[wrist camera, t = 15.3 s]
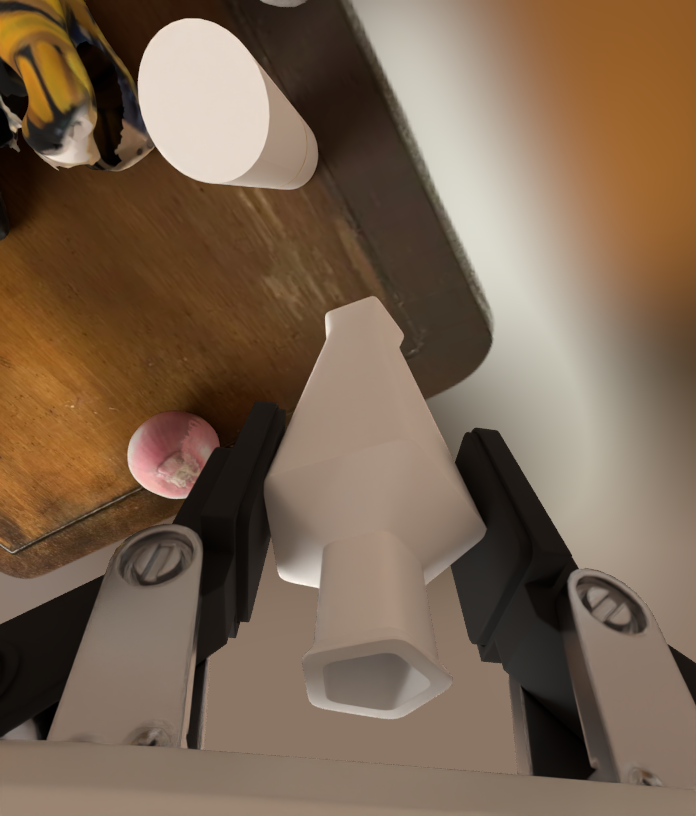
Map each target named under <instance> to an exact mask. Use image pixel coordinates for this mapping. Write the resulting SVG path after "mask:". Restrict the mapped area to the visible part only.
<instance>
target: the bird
mask: <svg viewBox="0 0 696 816" xmlns="http://www.w3.org/2000/svg"><path fill="white" fill-rule="evenodd" d="M260 1H262V2H264V3H266V4H270V5H274V6H279V7H296V6H298V5H300V4H302V3H304V2H305V1H307V0H260Z"/></svg>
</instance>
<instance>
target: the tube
mask: <svg viewBox="0 0 696 816" xmlns="http://www.w3.org/2000/svg"><path fill="white" fill-rule="evenodd" d="M138 99H139V104H140V109H141V114H142V117H143V120H144V123H145V126H146V129H147V131H148V133H149V135H150V137H151V139H152V140H153V142H154V144H155V146H156V147H157V148H158V150H159V151H160V153H161V154H162V155H163V157H164V158H165V159H166V160H167V161H168V162H169V163H170V164H171V165H172V166H173V167H175V168H176V169H177V170H179V171H180V172H182V173H183V174H185V175H187V176H189V177H191V178H193V179H195V180H198V181H202V182H206V183H215V184H226V185H238V186H250V187H261V188H273V189H285V190H292V189H296V188H299V187H301V186H303V185H304V184H306V183H307V182H308V181H309V180H310V178H311V177H312V175H313V174H314V172H315V169H316V166H317V162H318V147H317V142H316V139H315V136H314V134H313V132H312V130H311V129H310V127H309V126H308V125H307V123H306V122H305V121H304V120H303V118H302V117H301V116H300V115H299V113H298V112H297V111H296V110H295V108H294V107H293V106H292V105H291V103H290V102H289V101H288V100H287V98H286V97H285V96H284V95H283V93H282V92H281V91H280V90H279V88H278V87H277V86H276V85H275V83H274V82H273V81H272V80H271V78H270V77H269V76H268V75H267V73H266V72H265V71H264V70H263V68H262V67H261V66H260V65H259V63H258V62H257V61H256V60H255V58H254V57H253V56H252V55H251V53H250V52H249V51H248V50H247V49H246V47H245V46H244V45H243V44H242V43H241V42H240V40H239V39H237V38H236V37H235V36H234V35H233V34H232V33H230V32H229V31H228V30H226V29H225V28H223V27H221V26H219V25H218V24H216V23H214V22H210V21H207V20H203V19H189V18H185V19H182V20H178V21H175V22H172V23H170V24H169V25H167V26H165V27H164V28H162V29H161V30H160V31H159V32H158V33H157V34H156V35H155V36H154V37H153V38H152V40H151V41H150V43H149V45H148V46H147V48H146V50H145V52H144V55H143V58H142V61H141V64H140V69H139V76H138Z"/></svg>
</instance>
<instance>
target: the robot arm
mask: <svg viewBox="0 0 696 816" xmlns="http://www.w3.org/2000/svg"><path fill="white" fill-rule="evenodd" d="M285 418H286V410H283V409H279V407H278V403H272V402H263V401H256V402H255V403H254V405H253V407H252V409H251V412H250V414H249V416H248V418H247V420H246V422H245V424H244V426H243V428H242V430H241V432H240V434H239V436H238V438H237V440H236V442H235V445H234V447H233V449H232V448H223V447H216V448H215V449H214V450H213V451H212V453H211V455H210V457H209V458H208V460H207V462H206V464H205V466H204V467H203V469H202V471H201V473H200V474H199V476H198V478H197V480H196V482H195V483H194V485H193V487H192V489H191V491H190V492H189V494H188V496H187V498H186V500H185V501H184V503H183V505H182V507H181V509H180V510H179V512H178V514H177V516H176V518H175V520H174V521H173V523H172V524H162V525H155V526H151V527H148V528H146V529H143V530H140V531H138V532H136V533H135V534H133V535H132V536H130V537H129V538H127V539H126V540H125V541H124V542H123V543H122V544H121V545H120V546H119V547H118V548H117V549H116V550H115V552H114V554H113V556H112V557H111V559H110V562H109V565H108V567H107V570H106V573H105V574H104V575H102V576H100V577H98V578H96V579H94V580H92V581H90V582H88V583H86V584H84V585H82V586H79V587H78V588H75V589H73V590H71V591H69V592H67V593H65V594H63V595H61V596H59V597H57V598H54V599H53V600H51V601H48V602H46V603H44V604H42V605H40V606H38V607H36V608H34V609H32V610H29V611H27V612H25V613H23V614H21V615H19V616H17V617H15V618H13V619H11V620H9V621H6V622H4V623H2V624H0V816H696V663H695V662H693V661H692V660H690V659H689V658H687V657H686V656H684V655H683V654H681V653H680V652H678V651H677V650H676V649H674V648H673V647H671V646H670V645H668V644H667V643H666V641H665V638H664V636H663V634H662V632H661V630H660V628H659V626H658V623H657V621H656V619H655V617H654V615H653V613H652V612H651V610H650V609H649V607H648V605H647V604H646V603H645V602H644V601H643V600H642V599H641V597H639V595H638V594H637V593H636V592H635V591H633V590H632V589H631V588H630V587H628V586H627V585H626V584H625V583H623V582H621V581H620V580H618V579H616V578H615V577H613V576H611V575H609V574H606V573H604V572H601V571H598V570H593V569H588V568H585V569H579V568H578V567H577V565H576V563H575V562H574V560H573V558H572V555H571V553H570V551H569V549H568V548H567V546H566V545H565V543H564V541H563V539H562V538H561V536H560V534H559V533H558V531H557V529H556V528H555V526H554V524H553V523H552V521H551V519H550V517H549V516H548V514H547V513H546V511H545V509H544V507H543V506H542V504H541V502H540V501H539V499H538V497H537V496H536V494H535V492H534V491H533V489H532V487H531V485H530V484H529V482H528V480H527V479H526V477H525V475H524V474H523V472H522V470H521V469H520V467H519V465H518V463H517V462H516V460H515V459H514V457H513V455H512V453H511V452H510V450H509V448H508V447H507V445H506V443H505V442H504V440H503V438H502V437H501V435H500V433H499V432H498V431H496V430H489V429H482V428H474V429H473V430H472V432H471V433H469V432H467V433H465V435H464V437H463V440H462V443H461V446H460V449H459V452H458V455H457V458H456V461H455V464H456V466H457V468H458V470H459V473H460V475H461V477H462V479H463V481H464V483H465V485H466V487H467V489H468V491H469V493H470V495H471V497H472V499H473V501H474V503H475V506H476V508H477V510H478V512H479V514H480V516H481V518H482V520H483V522H484V524H485V526H486V528H487V530H486V533H485V536H484V537H483V538H482V540H480V541H479V542H478V543H477V544H475V545H474V546H473V547H472V548H471V549H469V550H468V551H467V552H466V553H464V554H463V555H462V556H461V557H460V558H458V559H457V560H456V561H455V562H453V563H452V564H451V569H452V573H453V577H454V580H455V585H456V589H457V593H458V597H459V601H460V605H461V609H462V613H463V617H464V621H465V625H466V629H467V633H468V636H469V639H470V641H471V643H472V644H477V646H478V650H479V654H480V657H481V661H483V662H493V663H502V665H503V669H504V670H505V671H506V672H507V673H508V674H509V688H510V699H511V709H512V720H513V730H514V742H515V752H516V763H517V773H518V775H515V774H502V773H491V772H479V771H466V770H453V769H442V768H430V767H417V766H404V765H392V764H380V763H379V764H378V763H367V762H354V761H342V760H328V759H315V758H302V757H289V756H276V755H263V754H250V753H236V752H223V751H210V750H204V742H205V728H206V727H205V726H206V713H207V700H208V687H209V673H210V660H211V654H213V653H214V652H216V651H217V650H218V649H220V648H221V647H223V646H224V645H225V644H227V640H228V637H229V638H236V635H237V632H238V628H239V625H240V622H249V621H250V618H251V614H252V610H253V606H254V602H255V598H256V594H257V590H258V586H259V582H260V578H261V574H262V570H263V566H264V562H265V558H266V554H267V550H268V545H269V542H270V538H271V532H270V527H269V521H268V516H267V510H266V505H265V499H264V480H265V477H266V475H267V472H268V470H269V468H270V466H271V463H272V461H273V459H274V457H275V454H276V452H277V450H278V448H279V445H280V443H281V441H282V439H283V436H284V434H285Z"/></svg>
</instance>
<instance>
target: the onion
mask: <svg viewBox="0 0 696 816" xmlns="http://www.w3.org/2000/svg"><path fill="white" fill-rule="evenodd" d="M217 436H218V434H216V432H215V431H214V429H213V428H212V427H211V425H210V424H209V423H207V422H206V421H205V420H204V419H202V418H201V417H199V416H197V415H195V414H192V413H189V412H184V411H165V412H162V413H159V414H156V415H154V416H153V417H151V418H150V419H148V420H147V421H146V422H144V423H143V424H142V425H141V426H140V427H139V428H138V429H137V430H136V432H135V433H134V434H133V436H132V438H131V440H130V443H129V447H128V465H129V469H130V471H131V473H132V474H133V476H134V478H135V479H136V480H137V481H138V482H139V483H140V484H141V485H142V486H143V487H144V488H146V489H148V490H149V491H151V492H153V493H156V494H158V495H161V496H164V497H167V498H173V499H181V498H187V496H188V494H189V492H190V491H191V489H192V487H193V485H194V483H195V482H196V480H197V478H198V476H199V474H200V473H201V471H202V469H203V467H204V466H205V464H206V462H207V460H208V458H209V457H210V455H211V453H212V451H213V450H214V449H215V448H216V447H220V445H219V440H218V437H217Z"/></svg>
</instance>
